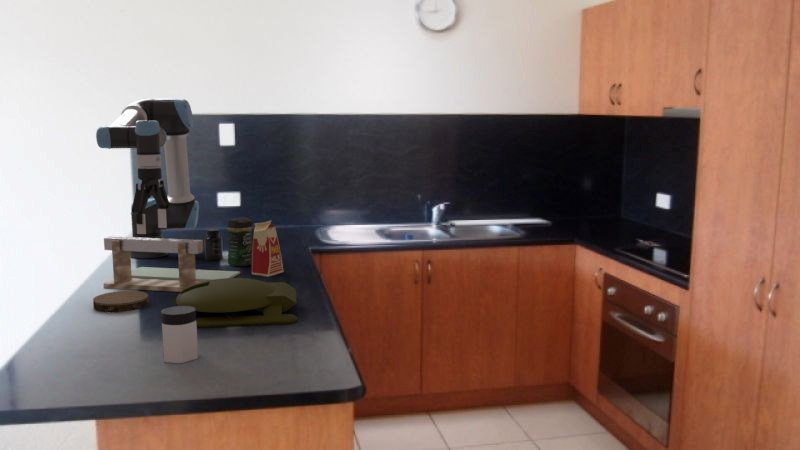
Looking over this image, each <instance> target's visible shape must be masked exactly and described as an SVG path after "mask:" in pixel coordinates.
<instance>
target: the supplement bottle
mask: <svg viewBox="0 0 800 450" xmlns="http://www.w3.org/2000/svg"><path fill="white" fill-rule="evenodd" d="M223 252H224V251H223V237H222V236H220V229H219V228H210V229H207V230H206V236H205V238H204V256H205V257H204V259H205V260H206V261H210V262H214V261H221V260H223V258H224V256H223Z"/></svg>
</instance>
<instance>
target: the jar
mask: <svg viewBox="0 0 800 450" xmlns="http://www.w3.org/2000/svg"><path fill="white" fill-rule="evenodd" d="M196 319H197V311H196V309H195V308H194V307H191V306H178V305H176V306H170V307H167V308H163V309H162V310H161V311H160V320H161V321H160V322H161V333H162V355H163V362H164V363H167V364H168V363H171V364H172V363H173V364H185V363H188V362H191V361H195V360H198V359H199V350H198V346H199V345H198V327H197V323H196Z"/></svg>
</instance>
